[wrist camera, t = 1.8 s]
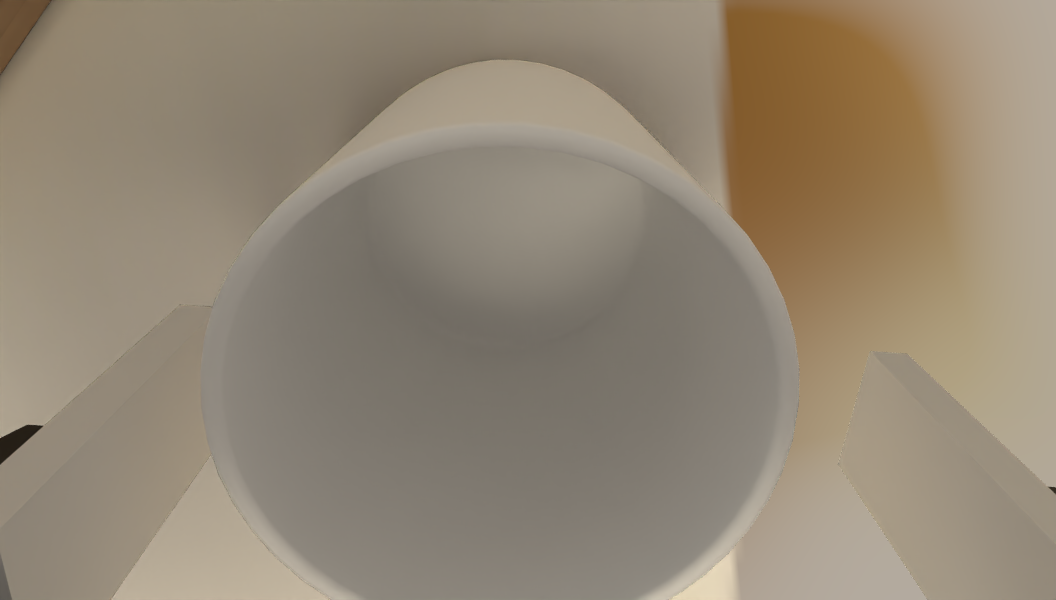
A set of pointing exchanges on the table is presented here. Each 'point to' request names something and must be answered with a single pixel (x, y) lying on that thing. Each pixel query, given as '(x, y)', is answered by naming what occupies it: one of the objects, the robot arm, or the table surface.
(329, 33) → the table surface
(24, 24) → the wooden tray
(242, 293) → the mug
